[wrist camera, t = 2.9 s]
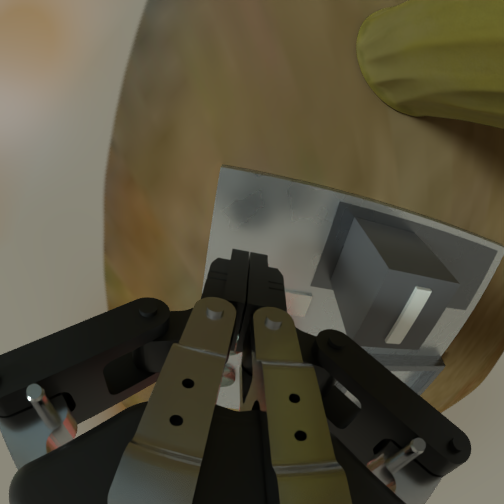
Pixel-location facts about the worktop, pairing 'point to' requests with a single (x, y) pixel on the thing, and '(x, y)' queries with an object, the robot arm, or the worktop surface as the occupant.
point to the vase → (437, 58)
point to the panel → (327, 255)
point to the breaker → (389, 286)
